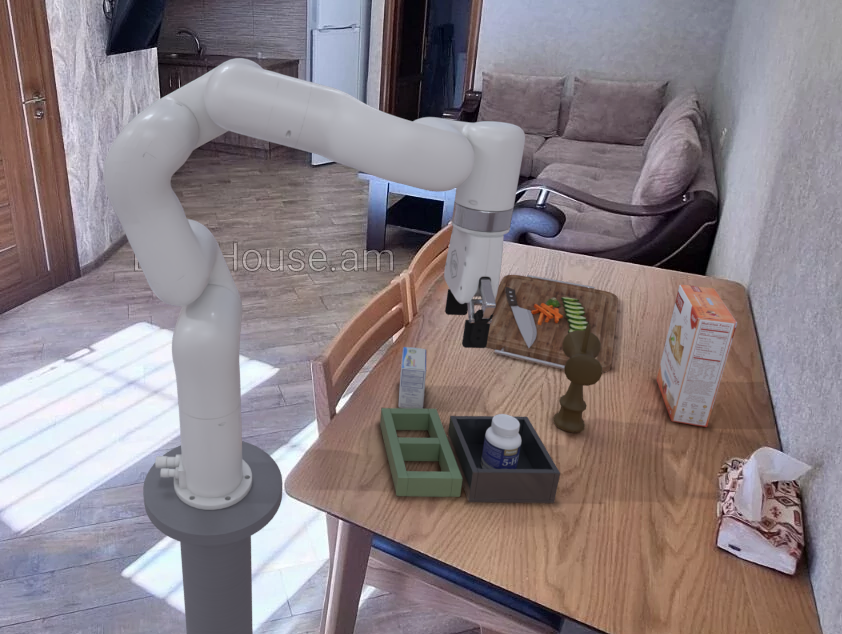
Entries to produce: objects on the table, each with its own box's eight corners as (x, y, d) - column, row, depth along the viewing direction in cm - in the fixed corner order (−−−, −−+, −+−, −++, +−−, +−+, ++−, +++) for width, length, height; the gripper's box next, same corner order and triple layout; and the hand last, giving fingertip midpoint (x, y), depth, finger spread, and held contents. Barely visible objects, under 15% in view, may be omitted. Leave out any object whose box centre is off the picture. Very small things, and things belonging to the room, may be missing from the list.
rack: (396, 496, 97) (398, 477, 96) (379, 424, 113) (381, 407, 112) (460, 497, 97) (462, 478, 96) (434, 425, 113) (436, 408, 112)
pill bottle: (503, 485, 98) (512, 437, 95) (473, 467, 102) (480, 420, 99) (522, 469, 101) (531, 422, 98) (492, 452, 105) (500, 407, 102)
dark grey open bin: (468, 502, 96) (472, 472, 94) (446, 443, 108) (450, 415, 106) (554, 503, 96) (560, 473, 93) (522, 444, 108) (527, 416, 106)
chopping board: (608, 382, 125) (611, 368, 124) (468, 348, 137) (469, 336, 136) (618, 294, 162) (620, 283, 161) (506, 274, 174) (508, 263, 173)
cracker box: (653, 380, 126) (678, 282, 118) (689, 386, 124) (716, 287, 116) (668, 422, 114) (697, 315, 106) (707, 429, 112) (740, 321, 104)
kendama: (585, 414, 116) (607, 314, 108) (588, 446, 108) (611, 341, 100) (549, 406, 118) (568, 308, 110) (549, 437, 110) (569, 334, 102)
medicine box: (422, 411, 117) (427, 370, 113) (397, 408, 118) (401, 367, 114) (423, 387, 124) (427, 348, 121) (399, 384, 125) (402, 345, 122)
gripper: (438, 197, 94) (425, 302, 101) (471, 238, 78) (453, 360, 85) (490, 198, 94) (473, 303, 101) (533, 239, 78) (510, 362, 85)
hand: (464, 329), depth 93 cm, fingers open, 9 cm apart
